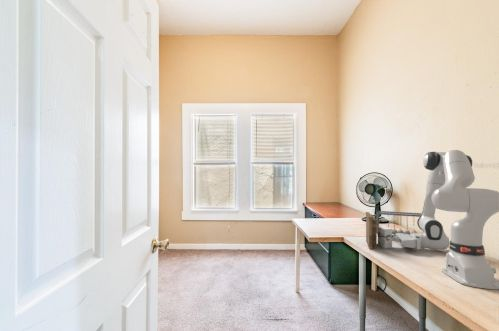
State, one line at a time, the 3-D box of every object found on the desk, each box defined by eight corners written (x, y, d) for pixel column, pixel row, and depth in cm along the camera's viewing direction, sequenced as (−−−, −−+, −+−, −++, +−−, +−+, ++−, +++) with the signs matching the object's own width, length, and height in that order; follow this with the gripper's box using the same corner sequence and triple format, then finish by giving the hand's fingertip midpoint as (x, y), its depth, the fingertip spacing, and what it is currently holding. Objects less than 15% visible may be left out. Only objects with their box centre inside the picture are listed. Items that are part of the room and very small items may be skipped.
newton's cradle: (424, 239, 184) (424, 213, 184) (428, 242, 174) (428, 215, 174) (376, 235, 195) (376, 210, 195) (377, 238, 185) (377, 212, 186)
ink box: (377, 244, 169) (377, 225, 169) (384, 244, 169) (384, 225, 170) (384, 248, 160) (384, 228, 161) (392, 248, 161) (392, 228, 161)
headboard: (377, 249, 157) (377, 217, 158) (368, 249, 159) (368, 216, 159) (373, 241, 176) (373, 212, 177) (365, 240, 178) (365, 211, 178)
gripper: (411, 231, 170) (387, 229, 174) (420, 239, 151) (393, 237, 155) (411, 241, 170) (387, 239, 174) (420, 250, 150) (393, 248, 155)
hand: (390, 238), depth 164 cm, fingers closed
